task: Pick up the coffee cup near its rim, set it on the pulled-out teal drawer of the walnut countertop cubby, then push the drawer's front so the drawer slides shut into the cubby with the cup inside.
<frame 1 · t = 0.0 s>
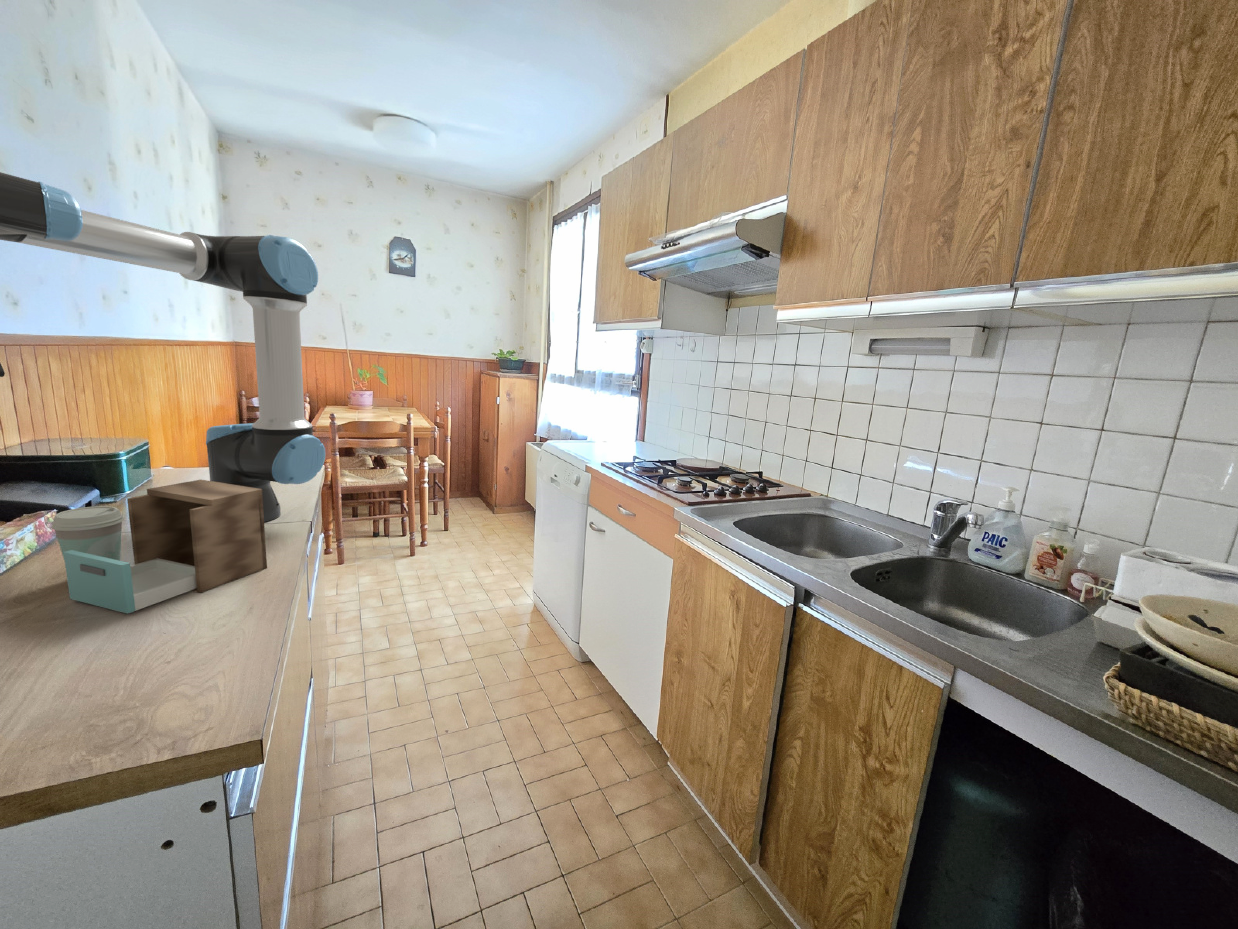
cubby: (204, 572, 92), on the worktop
teal drawer: (141, 568, 82), point 4 cm above the worktop, slide at 8.5 cm
coffee cup: (96, 579, 87), on the worktop
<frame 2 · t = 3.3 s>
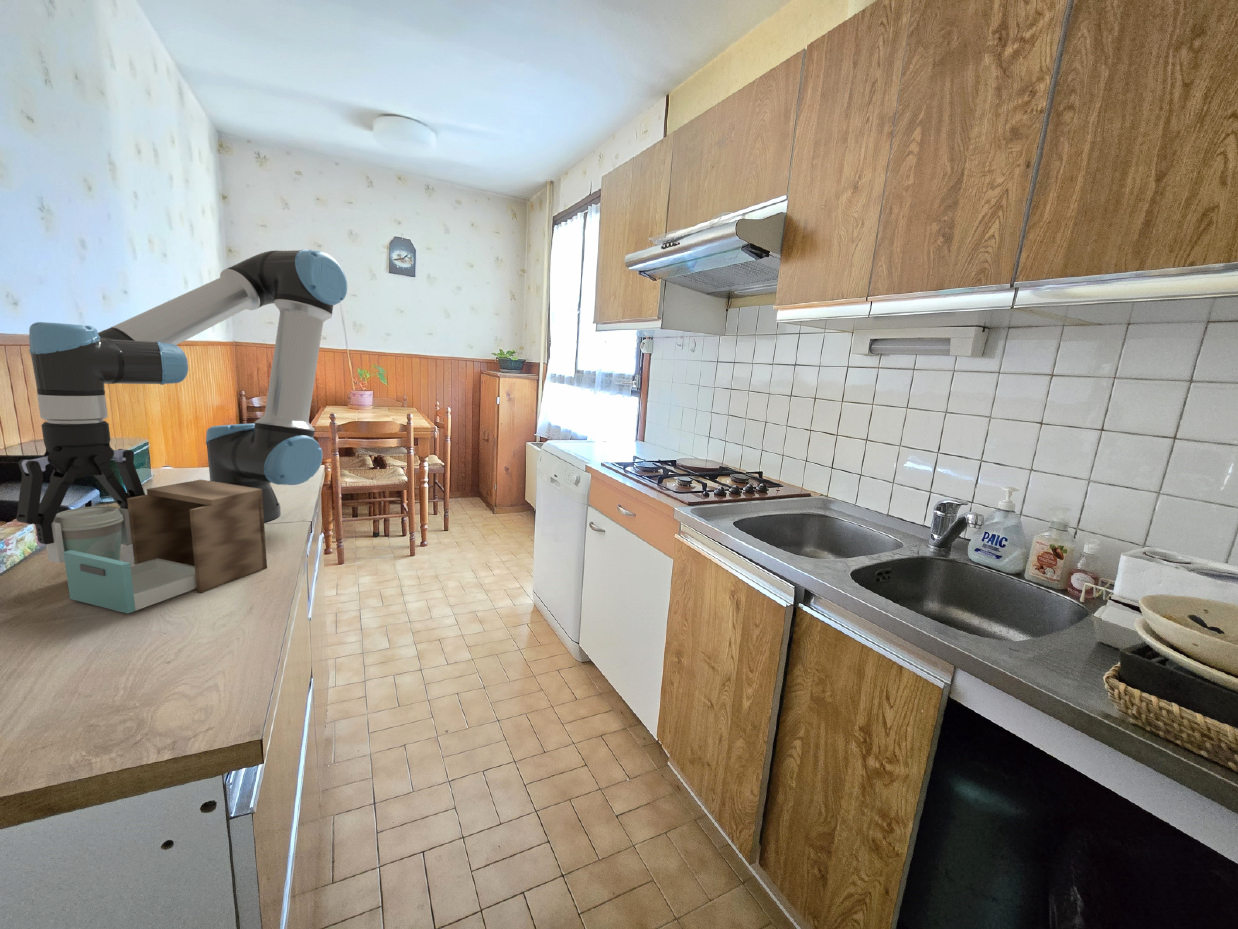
hand: (92, 551, 86), 5 cm above the worktop, fingers closed on coffee cup, 8 cm apart
coffee cup: (96, 579, 87), on the worktop, touching gripper
everything else where it was.
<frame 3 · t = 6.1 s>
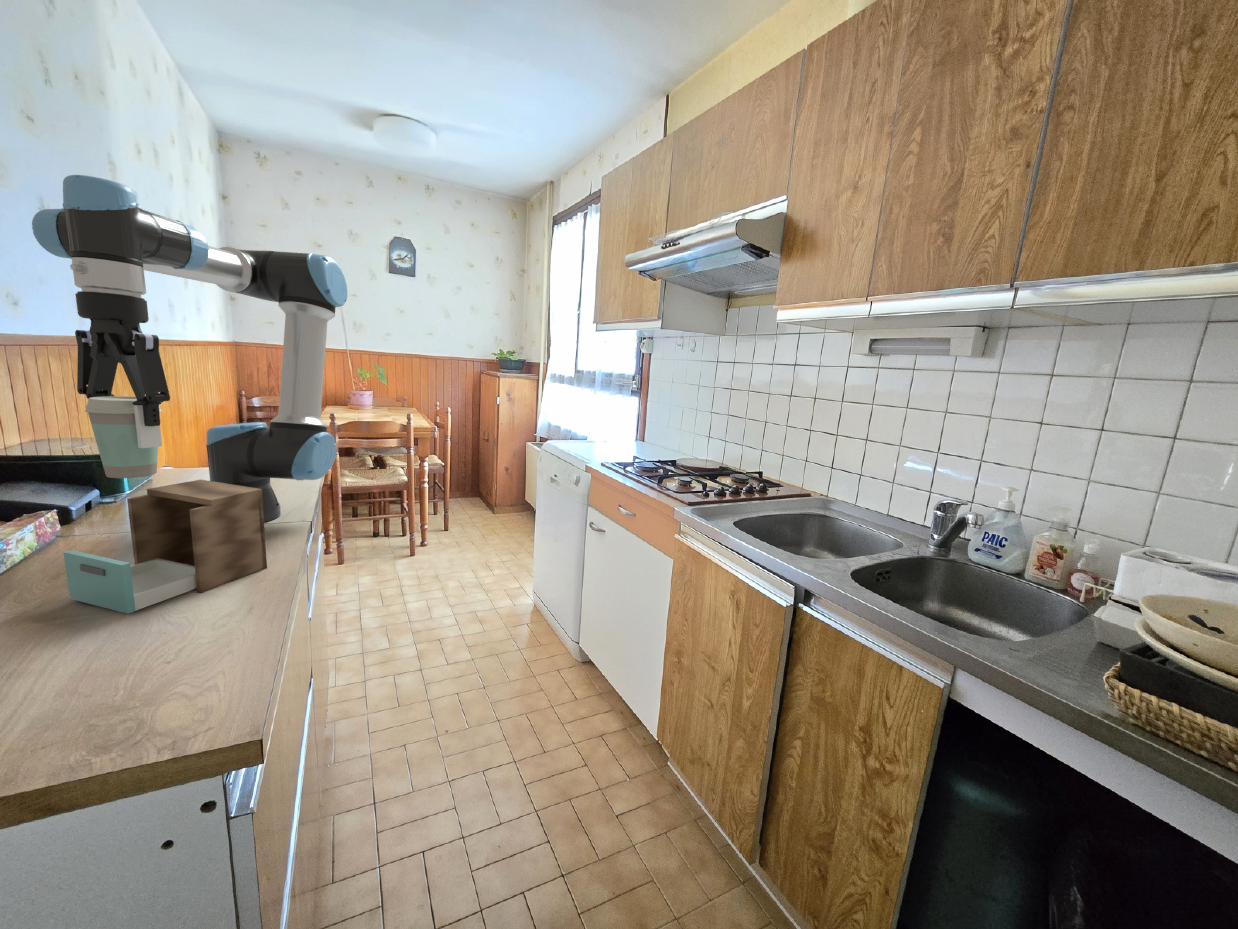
hand: (128, 443, 79), 25 cm above the worktop, fingers closed on coffee cup, 8 cm apart
coffee cup: (132, 475, 80), point 20 cm above the worktop, touching gripper
everything else where it was.
when the fingers open (8 cm above the worktop, at t = 9.1 s): coffee cup drops 1 cm, resting on teal drawer.
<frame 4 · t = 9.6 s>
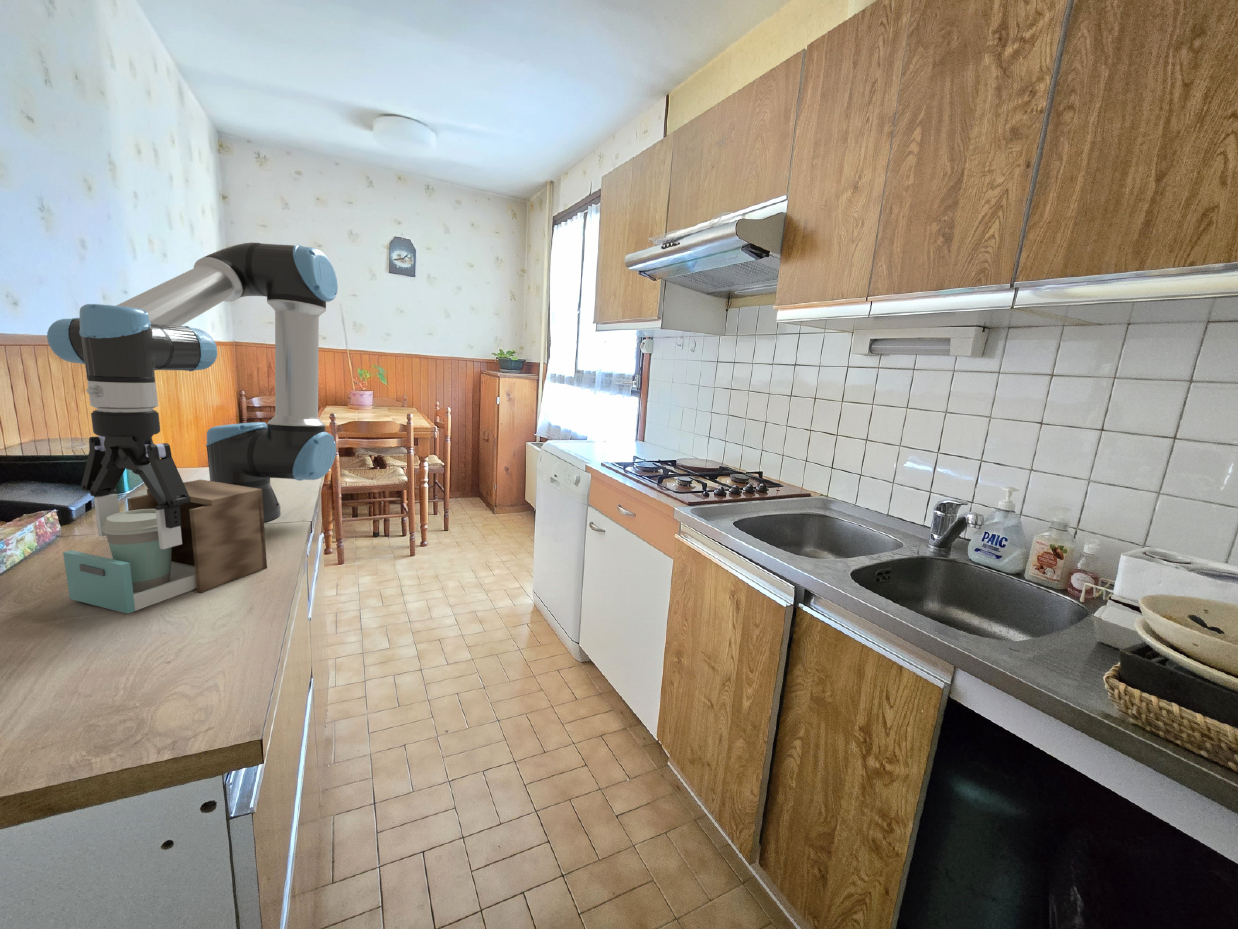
hand: (140, 540, 82), 9 cm above the worktop, fingers open, 13 cm apart
teal drawer: (140, 568, 82), point 4 cm above the worktop, slide at 8.5 cm, touching coffee cup
coffee cup: (146, 586, 83), point 1 cm above the worktop, touching teal drawer
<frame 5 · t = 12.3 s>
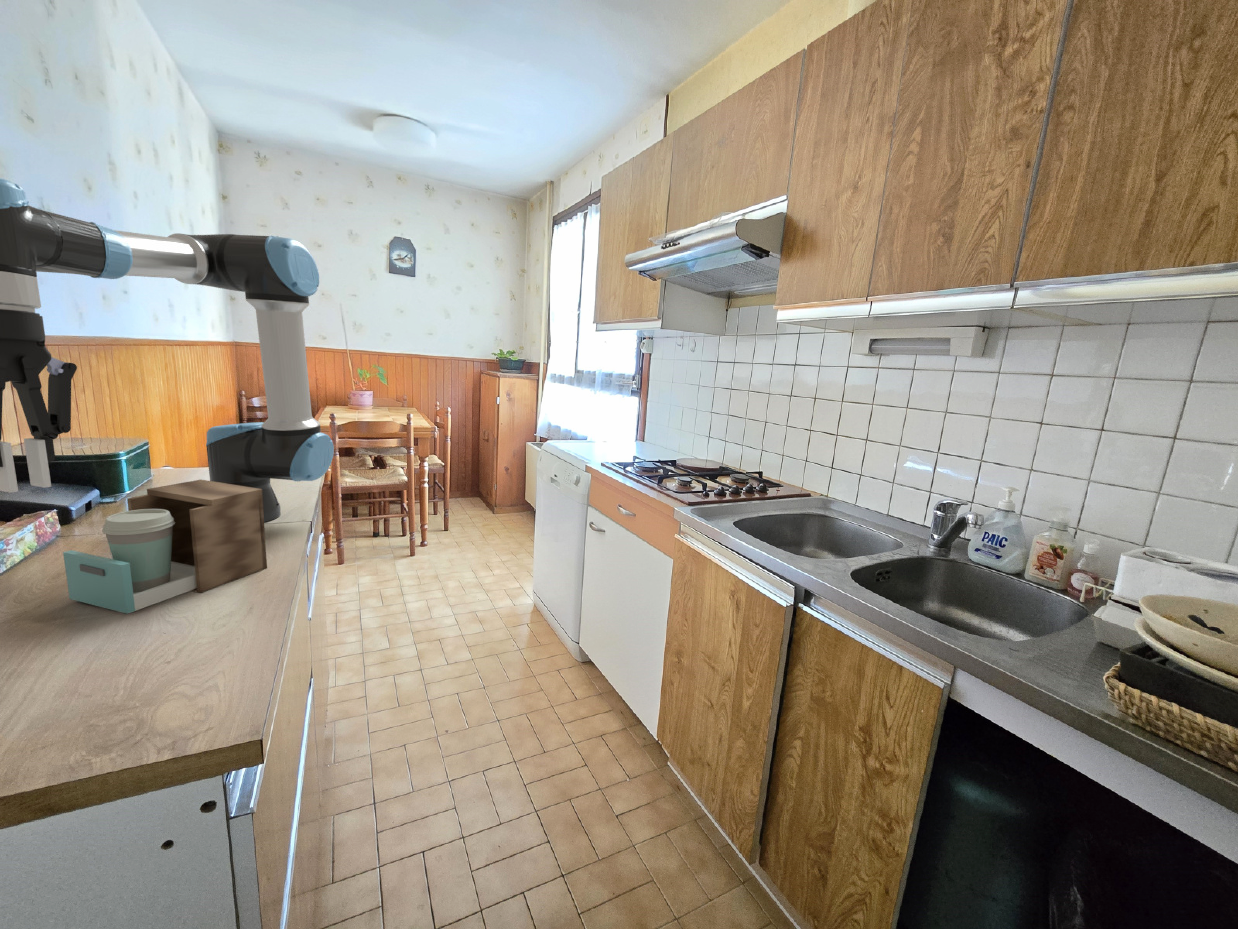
hand: (24, 487, 68), 21 cm above the worktop, fingers open, 3 cm apart
nothing on the worktop moved.
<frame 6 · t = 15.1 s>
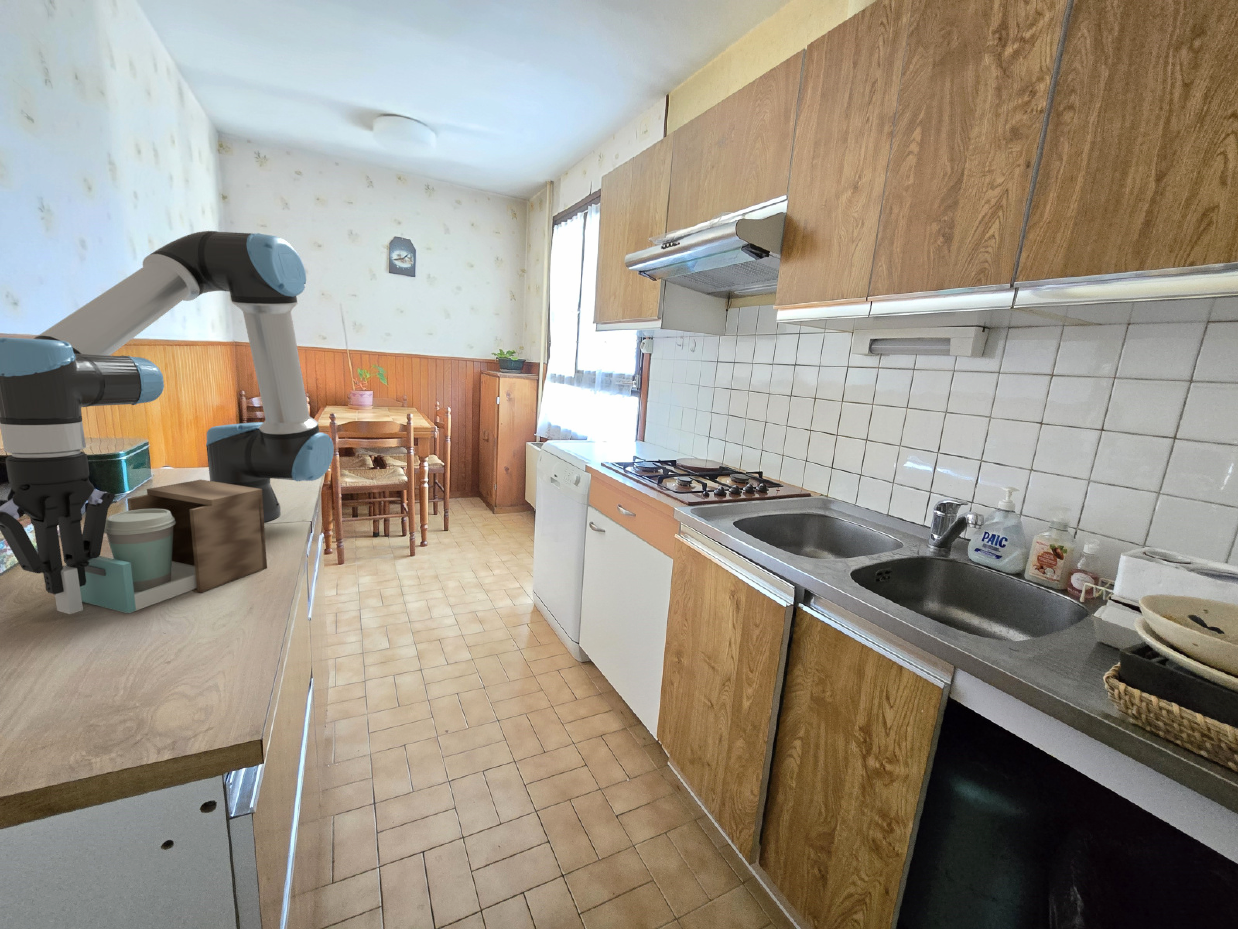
hand: (70, 610, 74), 1 cm above the worktop, fingers closed
teal drawer: (141, 568, 82), point 4 cm above the worktop, slide at 8.4 cm, touching coffee cup, gripper
everything else where it was.
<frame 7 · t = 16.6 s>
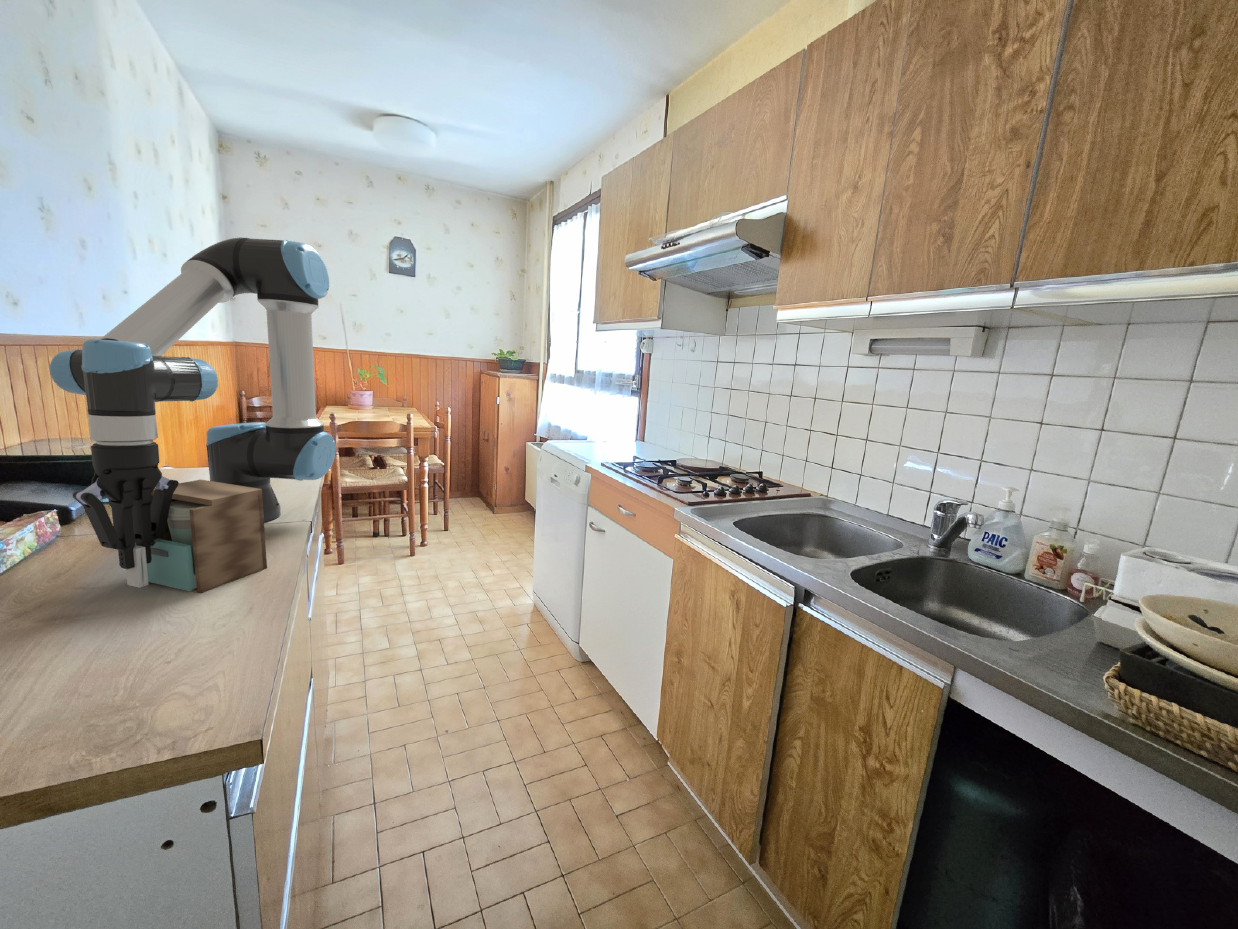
hand: (137, 584, 82), 2 cm above the worktop, fingers closed
teal drawer: (196, 551, 90), point 4 cm above the worktop, slide at 0.0 cm, touching coffee cup, cubby, gripper
coffee cup: (201, 567, 91), point 1 cm above the worktop, touching teal drawer
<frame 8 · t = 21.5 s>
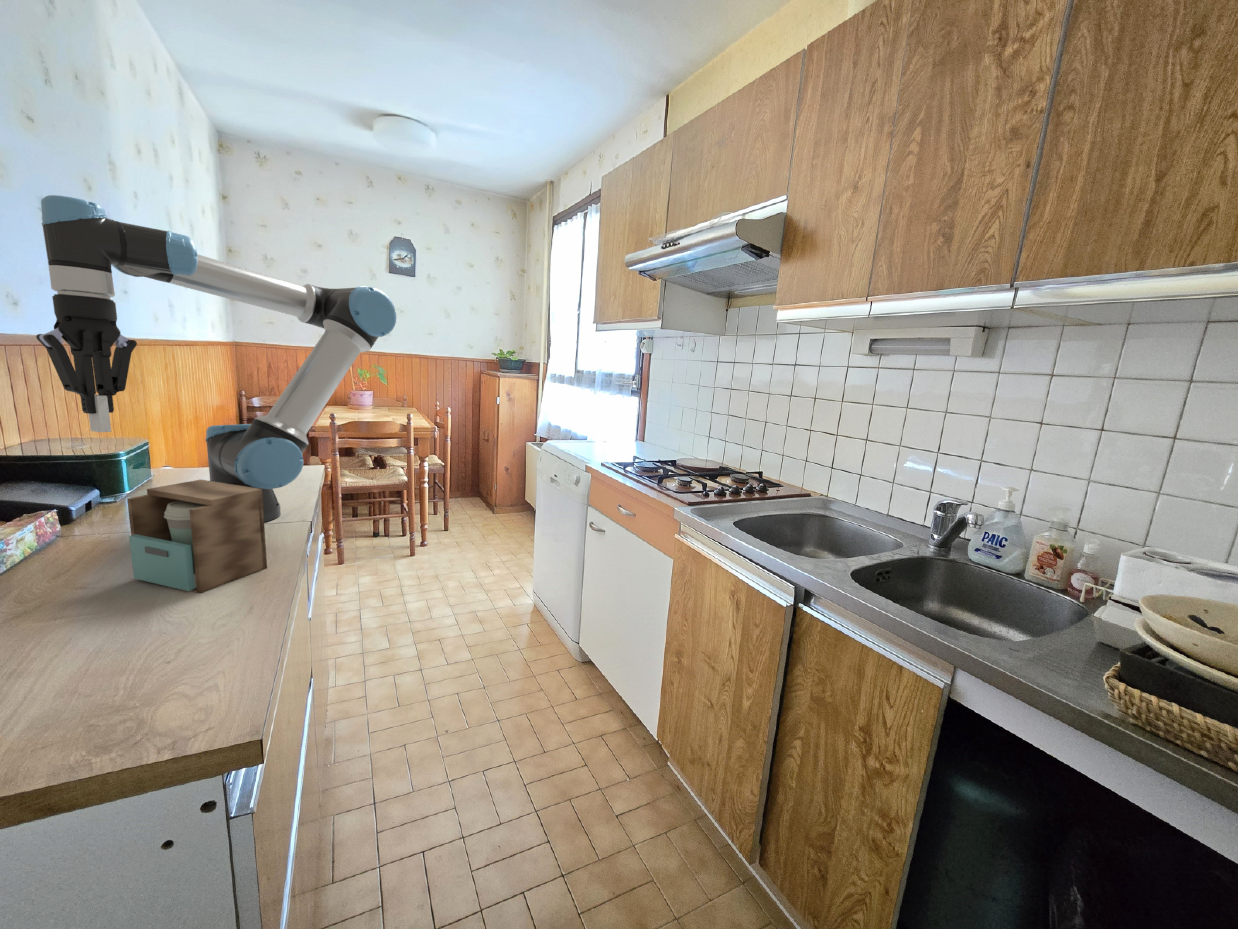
hand: (101, 431, 91), 24 cm above the worktop, fingers closed
teal drawer: (196, 551, 90), point 4 cm above the worktop, slide at 0.0 cm, touching coffee cup
everything else where it was.
at the end: teal drawer slide at 0.0 cm; coffee cup inside the target area on the cubby (0.8 cm from its centre), point 1.3 cm above the cubby's base; coffee cup tilted 0° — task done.
